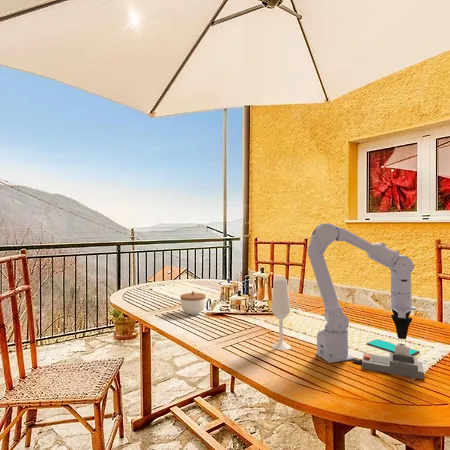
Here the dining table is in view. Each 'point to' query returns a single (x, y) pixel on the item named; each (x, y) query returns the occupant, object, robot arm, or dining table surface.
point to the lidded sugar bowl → (193, 302)
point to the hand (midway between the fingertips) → (401, 335)
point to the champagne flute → (280, 308)
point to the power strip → (393, 364)
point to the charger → (402, 348)
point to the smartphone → (389, 346)
